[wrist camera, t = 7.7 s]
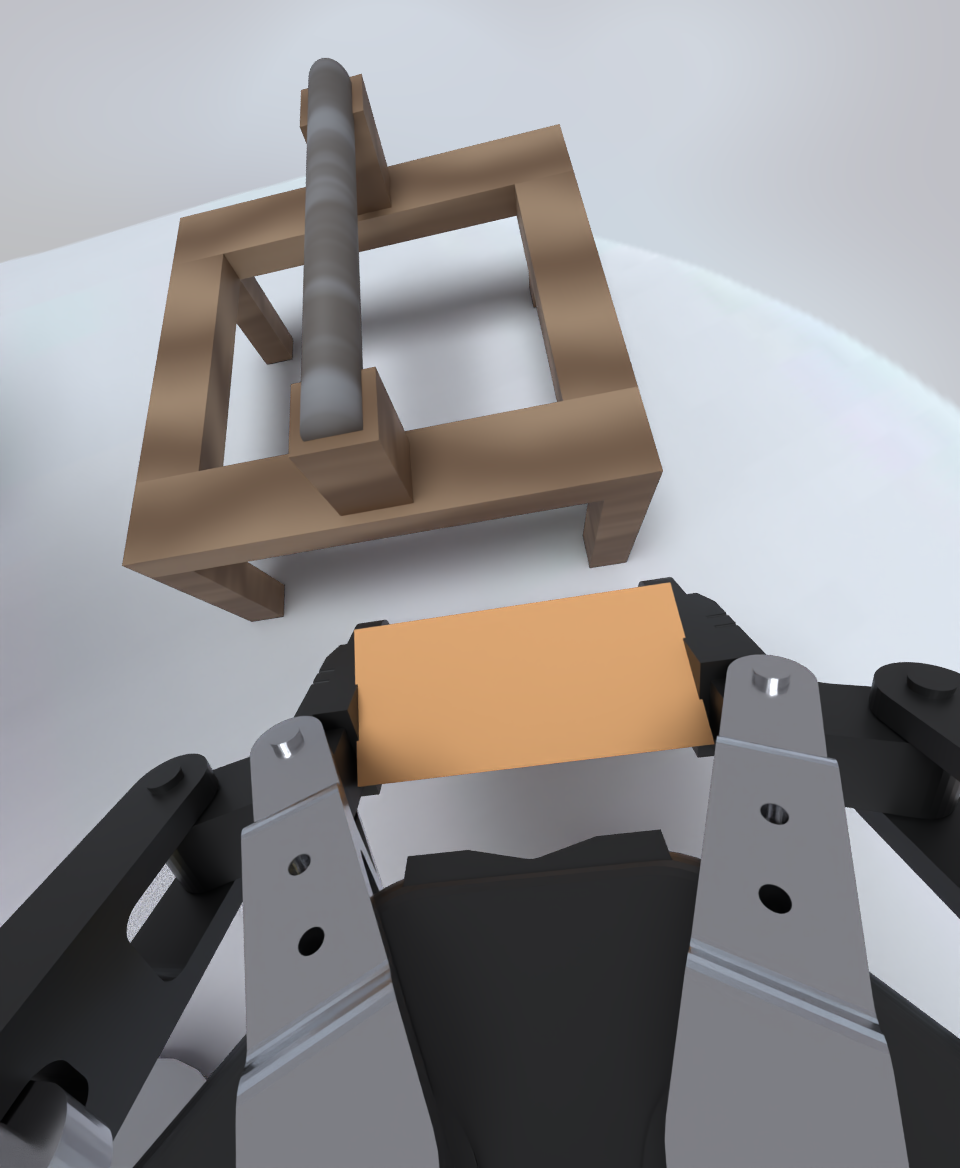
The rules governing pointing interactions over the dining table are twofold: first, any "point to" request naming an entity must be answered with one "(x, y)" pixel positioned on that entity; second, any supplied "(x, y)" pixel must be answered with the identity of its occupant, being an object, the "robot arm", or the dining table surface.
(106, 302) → the dining table surface
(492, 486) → the wooden slider frame
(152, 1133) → the can
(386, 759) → the orange two-legged bench
